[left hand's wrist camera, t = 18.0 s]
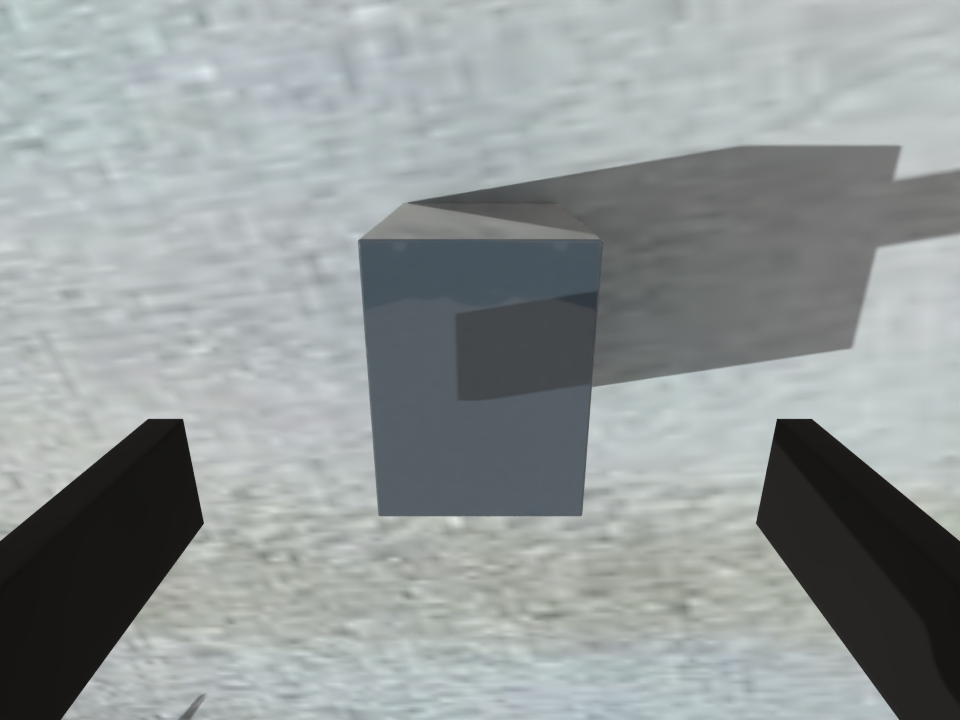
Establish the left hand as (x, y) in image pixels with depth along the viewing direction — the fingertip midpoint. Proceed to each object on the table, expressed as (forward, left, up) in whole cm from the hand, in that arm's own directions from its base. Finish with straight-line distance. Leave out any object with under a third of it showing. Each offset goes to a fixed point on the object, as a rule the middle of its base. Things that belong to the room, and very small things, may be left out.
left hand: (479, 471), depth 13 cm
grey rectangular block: (0, 0, -14) cm, 14 cm away
